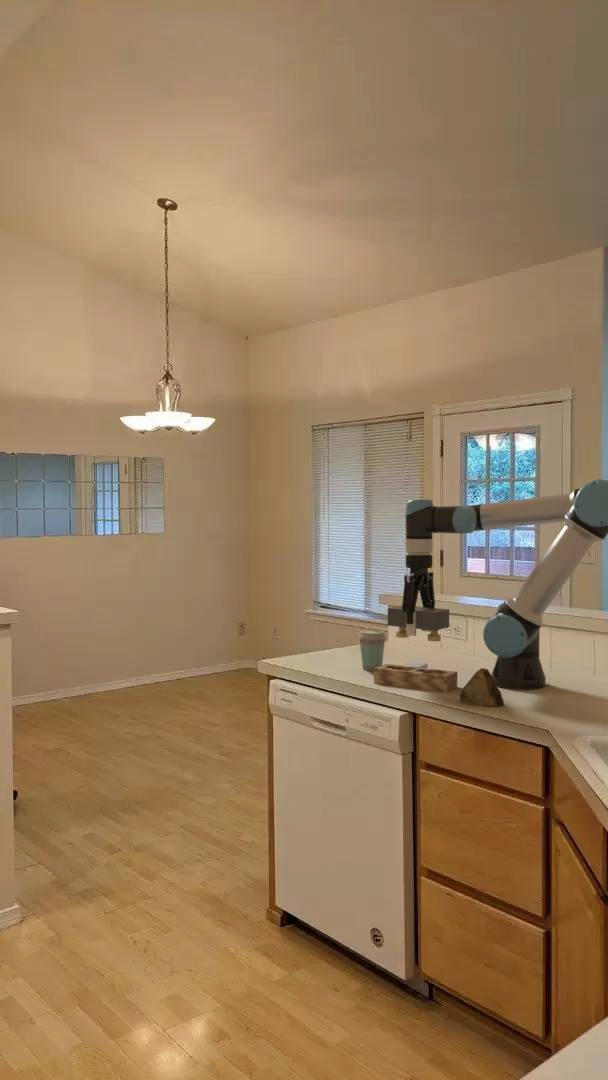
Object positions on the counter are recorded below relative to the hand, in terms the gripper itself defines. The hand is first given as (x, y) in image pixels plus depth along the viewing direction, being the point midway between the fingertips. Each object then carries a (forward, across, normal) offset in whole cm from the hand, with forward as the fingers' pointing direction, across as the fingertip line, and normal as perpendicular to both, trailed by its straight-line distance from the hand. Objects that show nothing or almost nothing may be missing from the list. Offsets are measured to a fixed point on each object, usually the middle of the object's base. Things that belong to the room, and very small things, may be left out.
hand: (418, 633), depth 243 cm
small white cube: (+15, -11, -7) cm, 20 cm away
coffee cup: (+15, -14, -23) cm, 31 cm away
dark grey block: (+2, 0, 0) cm, 2 cm away
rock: (+15, +11, +23) cm, 30 cm away
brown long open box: (+15, 0, -1) cm, 15 cm away
